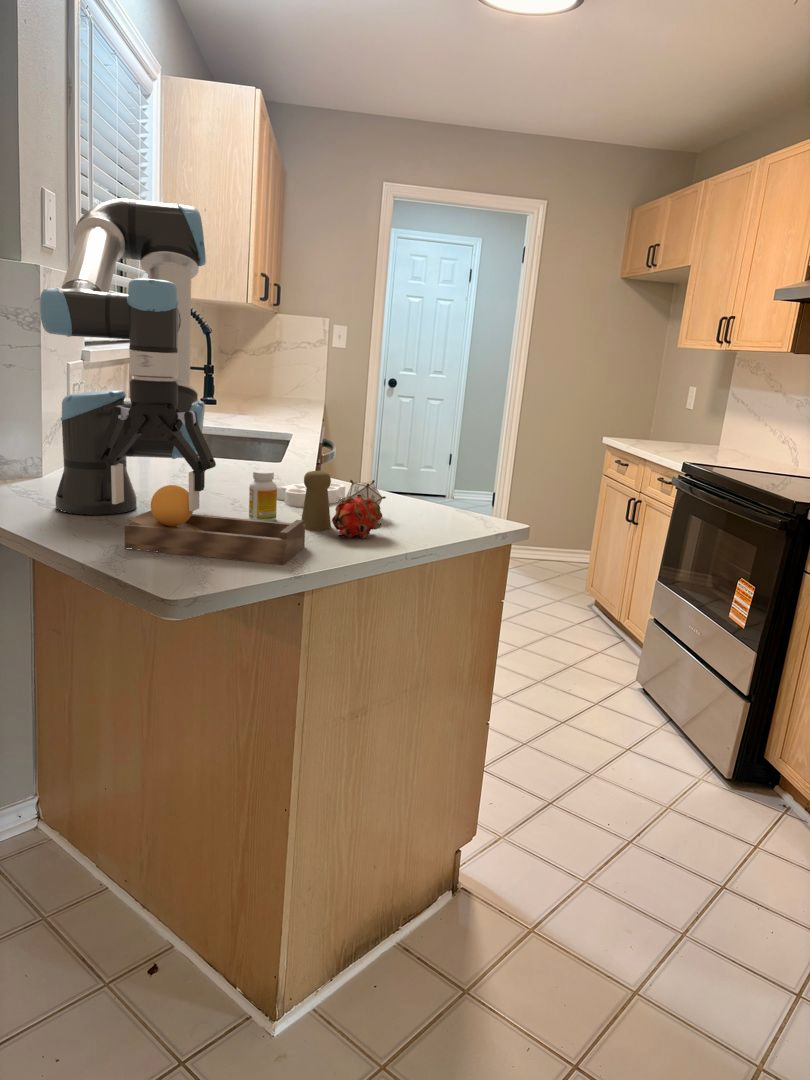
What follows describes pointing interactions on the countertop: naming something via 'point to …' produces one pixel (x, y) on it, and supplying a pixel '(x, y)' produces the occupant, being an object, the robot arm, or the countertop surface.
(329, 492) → the white scalloped tray
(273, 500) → the supplement bottle
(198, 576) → the countertop surface
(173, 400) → the robot arm
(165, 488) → the rubber ball
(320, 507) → the cork
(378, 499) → the geometric wire polyhedron
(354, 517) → the dragon fruit
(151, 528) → the wooden tray
